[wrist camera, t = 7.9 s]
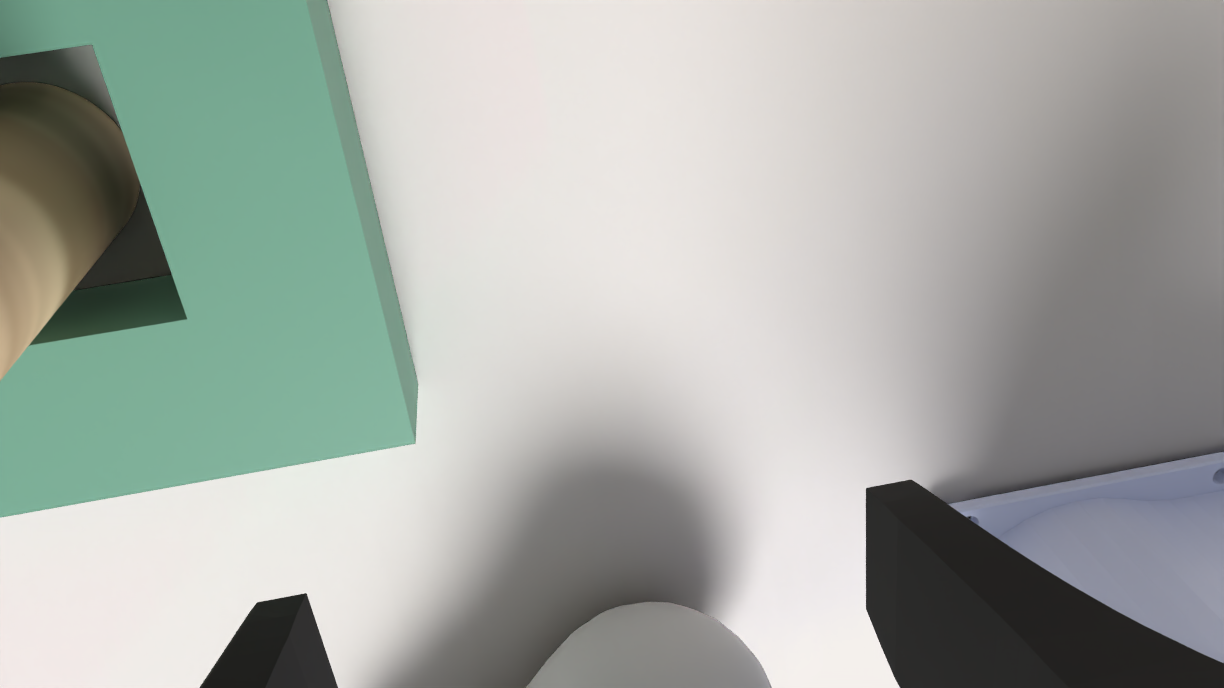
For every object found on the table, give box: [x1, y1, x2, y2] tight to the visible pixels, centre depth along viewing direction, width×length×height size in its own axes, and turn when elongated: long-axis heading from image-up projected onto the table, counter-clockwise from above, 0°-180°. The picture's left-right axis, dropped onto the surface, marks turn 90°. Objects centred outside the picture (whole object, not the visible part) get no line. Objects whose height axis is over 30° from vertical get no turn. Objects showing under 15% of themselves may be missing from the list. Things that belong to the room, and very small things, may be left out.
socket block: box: [0, 0, 418, 517], centre depth 19 cm, size 12×12×2 cm
